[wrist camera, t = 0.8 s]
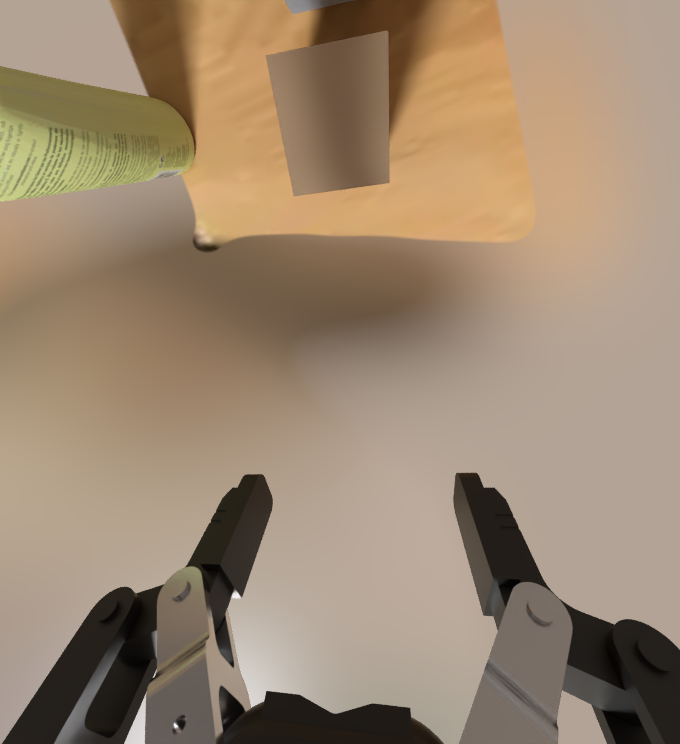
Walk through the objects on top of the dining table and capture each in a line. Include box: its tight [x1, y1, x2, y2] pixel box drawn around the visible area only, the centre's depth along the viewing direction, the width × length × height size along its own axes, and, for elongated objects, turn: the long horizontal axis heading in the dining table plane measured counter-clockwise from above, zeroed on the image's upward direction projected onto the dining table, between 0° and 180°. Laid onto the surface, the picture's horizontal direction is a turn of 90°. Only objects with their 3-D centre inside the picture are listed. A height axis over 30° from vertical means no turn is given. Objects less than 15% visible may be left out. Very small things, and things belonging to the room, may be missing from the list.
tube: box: [0, 66, 195, 202], centre depth 16 cm, size 6×5×20 cm
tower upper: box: [266, 30, 389, 196], centre depth 16 cm, size 6×6×6 cm
